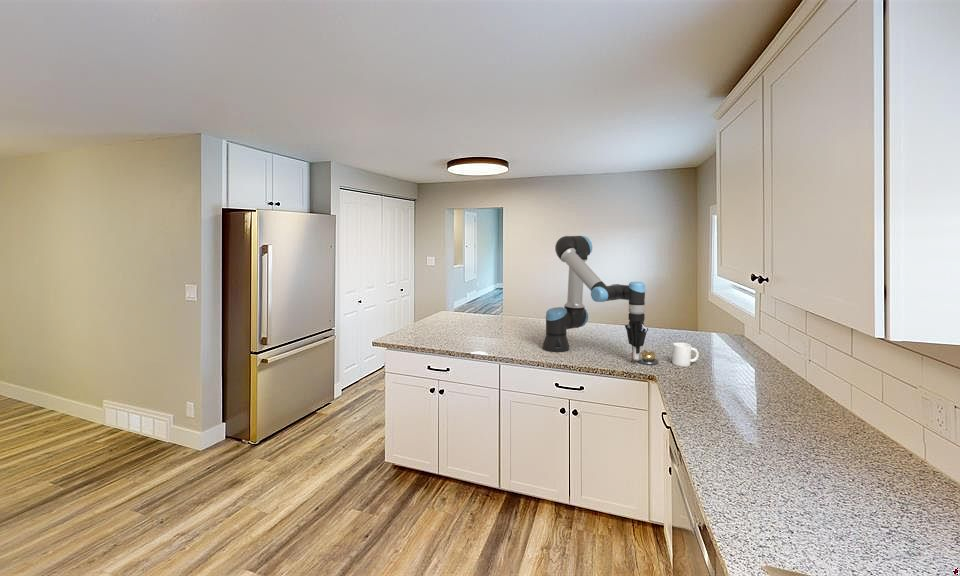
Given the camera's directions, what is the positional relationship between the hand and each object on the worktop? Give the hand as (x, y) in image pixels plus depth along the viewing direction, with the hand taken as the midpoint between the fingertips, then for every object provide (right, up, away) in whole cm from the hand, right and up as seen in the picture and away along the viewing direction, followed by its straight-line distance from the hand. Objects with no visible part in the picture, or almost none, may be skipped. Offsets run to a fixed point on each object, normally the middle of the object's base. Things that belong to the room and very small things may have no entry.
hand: (635, 359), depth 210 cm
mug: (+24, -3, -2) cm, 24 cm away
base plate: (+7, -2, +3) cm, 8 cm away
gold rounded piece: (+5, -1, +2) cm, 5 cm away
